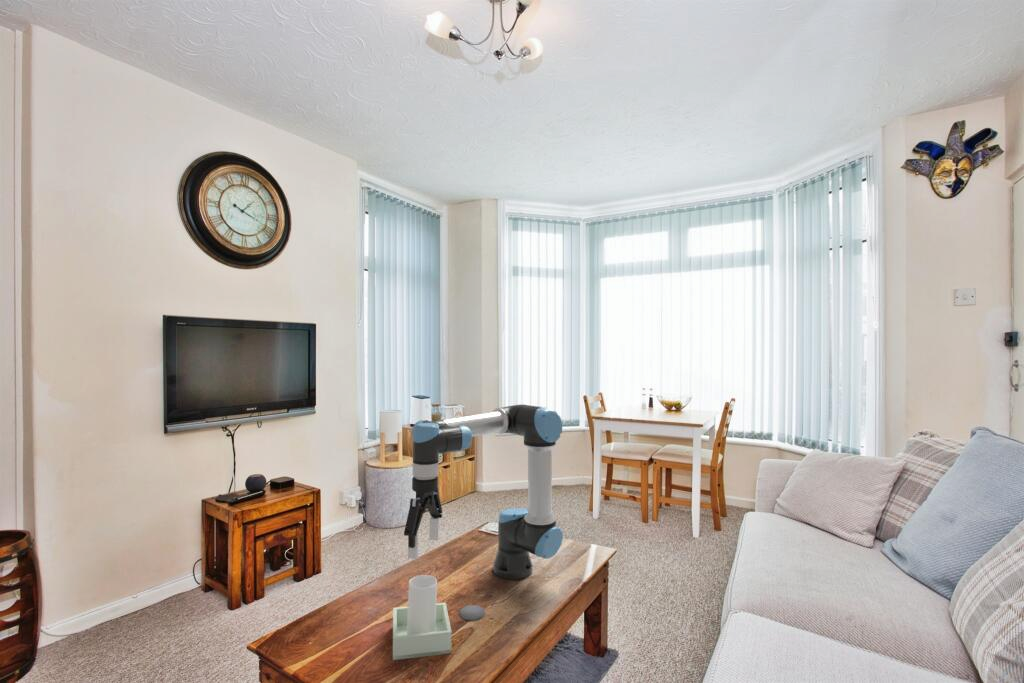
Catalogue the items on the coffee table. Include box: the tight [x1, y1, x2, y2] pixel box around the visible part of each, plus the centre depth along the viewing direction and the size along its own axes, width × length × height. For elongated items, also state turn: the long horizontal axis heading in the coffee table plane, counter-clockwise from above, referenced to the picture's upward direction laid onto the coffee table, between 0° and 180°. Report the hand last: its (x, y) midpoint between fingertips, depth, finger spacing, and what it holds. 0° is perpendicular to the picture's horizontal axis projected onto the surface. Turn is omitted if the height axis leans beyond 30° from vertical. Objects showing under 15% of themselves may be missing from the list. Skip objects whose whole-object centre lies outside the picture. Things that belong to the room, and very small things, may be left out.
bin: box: [392, 602, 453, 661], centre depth 145 cm, size 16×16×6 cm
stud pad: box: [459, 604, 486, 621], centre depth 160 cm, size 8×8×1 cm
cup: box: [407, 574, 438, 635], centre depth 146 cm, size 8×8×16 cm
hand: (423, 548), depth 146 cm, fingers open, 13 cm apart
